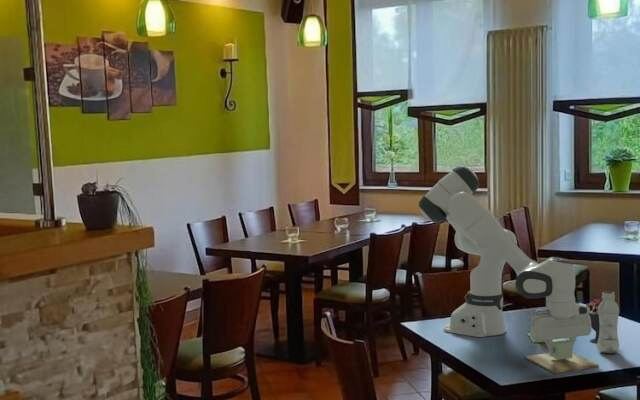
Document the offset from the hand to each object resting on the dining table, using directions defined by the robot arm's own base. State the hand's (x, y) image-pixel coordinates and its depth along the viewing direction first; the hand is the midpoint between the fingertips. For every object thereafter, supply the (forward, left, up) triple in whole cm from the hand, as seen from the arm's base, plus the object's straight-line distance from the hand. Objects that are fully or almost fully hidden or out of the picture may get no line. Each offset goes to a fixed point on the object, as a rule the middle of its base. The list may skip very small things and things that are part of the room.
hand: (560, 351), depth 245 cm
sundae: (+7, +28, -4) cm, 29 cm away
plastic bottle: (+12, +16, -4) cm, 21 cm away
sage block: (0, 0, -2) cm, 2 cm away
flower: (+1, +59, -4) cm, 59 cm away
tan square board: (0, 0, -4) cm, 4 cm away
